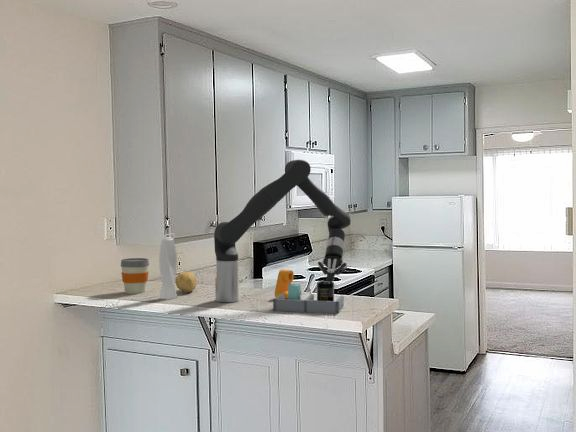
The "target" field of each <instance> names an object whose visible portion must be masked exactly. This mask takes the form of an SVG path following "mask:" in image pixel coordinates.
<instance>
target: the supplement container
mask: <svg viewBox="0 0 576 432" xmlns="http://www.w3.org/2000/svg"><path fill="white" fill-rule="evenodd" d="M316 300H317V301H335V282H334V281H332V282H330V281H327V280H323V281H321V280H320V281H317V282H316Z"/></svg>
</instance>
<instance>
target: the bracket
mask: <svg viewBox="0 0 576 432" xmlns="http://www.w3.org/2000/svg"><path fill="white" fill-rule="evenodd" d="M294 278H295V273H294V271H293V270H290V269H280V270H279V271H278V274H277V280H276V283H275V290H274V298H276V297H277V296H279V295H280V294H281V293H285V299H288V285H289V284H292V283H293V281H294Z"/></svg>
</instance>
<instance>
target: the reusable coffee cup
mask: <svg viewBox="0 0 576 432" xmlns="http://www.w3.org/2000/svg"><path fill="white" fill-rule="evenodd" d="M149 263H150V262H149V258H145V257H143V258H142V257H135V258H134V257H133V258H124V259H123V258H122V259H120V267H121V273H120V274H121V278H122V282H123V285H124V294H127V295H128V294H129V295H138V294H144V293H146V291H147V290H146V287H147V282H148V280H149V279H148V278H149V271H148V270H149V265H150V264H149Z"/></svg>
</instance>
